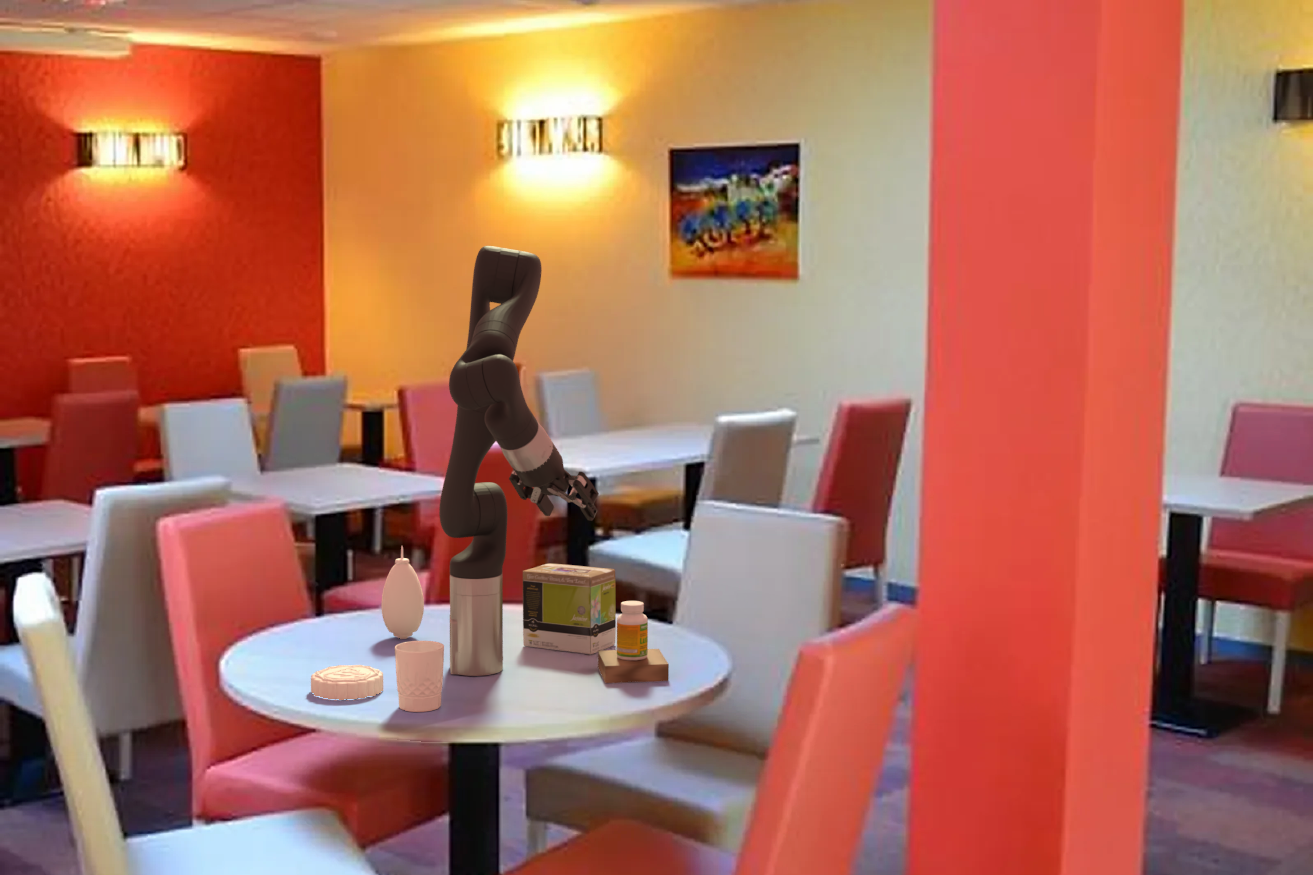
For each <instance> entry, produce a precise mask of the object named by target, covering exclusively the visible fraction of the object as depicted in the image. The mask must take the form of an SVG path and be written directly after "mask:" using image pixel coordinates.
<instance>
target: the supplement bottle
mask: <svg viewBox="0 0 1313 875" xmlns="http://www.w3.org/2000/svg"><path fill="white" fill-rule="evenodd" d="M644 605H645V604H644V602H643V601H639V600H626V601H622V602H620V612H622V613H620V614H619V615H617V617H616V618H617V619H616V650H617V657H618V658H619V659H622V660H628V661H636V660H643V659H645V658H646V657H647V653H648V649H649V646H648V638H649V636H648V635H649V634H648V630H649V629H648V628H649V625H648V623H649V622H648V617H647V615H646V614H644V613H643V612H644V610H645V609H644V608H645V606H644Z"/></svg>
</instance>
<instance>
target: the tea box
mask: <svg viewBox="0 0 1313 875" xmlns="http://www.w3.org/2000/svg"><path fill="white" fill-rule="evenodd" d="M616 603H617V602H616V569H614V568H603V567H594V566H583V565H572V564H561V563H551V562H550V563H549V562H548V563H545V564H542V565H537V566H535V567H533V568H528V569H525V570H522V619H523V620H522V630H523V632H522V636H523V640H522V641H523V646H524V647H531V648H539V649H547V650H554V651H562V652H563V651H564V652H568V653H569V652H571V653H578V654H585V655H593V654H597V653H598V651H601V650H606V649H608V648H610V647H613V646H615V645H616V635H617V619H616V618H617V615H616V613H617V612H616Z"/></svg>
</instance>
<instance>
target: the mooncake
mask: <svg viewBox="0 0 1313 875" xmlns="http://www.w3.org/2000/svg"><path fill="white" fill-rule="evenodd" d="M381 691H383V692H384V672H382V671H381V670H380V669H379V668H374V667H371V666H370V665H363V664H353V665H351V664H350V665H348V664H347V665H346V664H345V665H344V664H340V665H339V664H338V665H336V666H334V665H333V666H328V667H326V668H323V669H320V670H316V671H315V672H314V673H312V674H311V676H310V693H311V692H312V693H314V695H315V696H320V697H323V698H328V699H339V700H344V699H357V698H365V697H367V696H374V697H375V696H377V695H376V694H379V693H380V694H381V693H382V692H381ZM380 694H379V695H380ZM314 695H313V696H314ZM357 700H358V699H357Z"/></svg>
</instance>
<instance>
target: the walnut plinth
mask: <svg viewBox="0 0 1313 875" xmlns="http://www.w3.org/2000/svg"><path fill="white" fill-rule="evenodd" d="M669 667H670V666H669V663H668V661H667V659H666V657H665V656H664V654H663V653H662V651H661V649H660V648H648V653H647V657H646V658H645V659H643V660H636V661H628V660H622V659H619V658H618V657H617V649H610V650H609V649H608V650H606V649H604V650H601V651H598V652H597V668H598V671H599V673H600V675H601V677H602V679H603V681H604V683H605V684H617V683H618V684H619V683H621V684H622V683H649V682H652V683H653V682H668V681H669V678H670V677H669V672H670V670H669Z"/></svg>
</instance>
